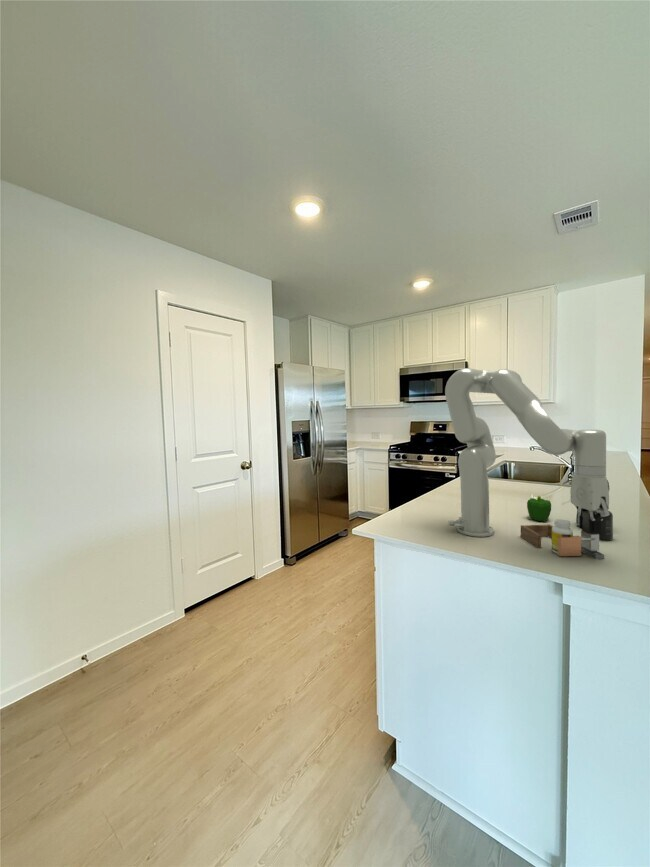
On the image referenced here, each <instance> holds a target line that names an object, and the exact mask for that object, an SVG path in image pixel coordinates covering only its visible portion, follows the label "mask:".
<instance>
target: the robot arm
mask: <svg viewBox="0 0 650 867" xmlns="http://www.w3.org/2000/svg"><path fill="white" fill-rule="evenodd" d="M470 393H481V394H494V395H496V396H497V397H498V399H499V400H500V401H501V402H502V403H503V404H504V405H505V406H506V407H507V408H508V409H509V410H510V411H511V413H513V414H514V415H515V417H516V419H517V420H518V422H519V423H520V425H522V427H523V429H524V430H525V431H526V432H527V434H529V436H530V437H531V438H532V439H533V440H534V441H535V442H536V443H537V445H539V447H541V449H543V451H545V453H548V454H550V455H554V456H559V455H563V454H566V453H569V452H574V473H573V475H572V479H571V484H570V485H571V486H570V503H571V504H572V505H573V506H575V508H576V511H577V510H578V515H579V526H578V527H579V529H580V530H582V512H585V511H590V519H591V520H589V533H591V534H593V533H601V521H602V520H603V518H604V517H605V516H609V515H610V514H609V511H610V510H609V509H610V488H609V489H608V483H607V480H608V479H607V434H606V432H605V431H604V430H600V429H579V430H577V429H568V428H567V429H566V428H560V427H559V426H558V425H557V424H556V423H555V422H554V421H553V420H552V418H550V416H549V415H548V413H547V412H546V410H545V409H544V407H543V404H542V402H541V400H540V399H539V397H538V396H537V395H536V394H535V393H534V392H533V391H532V390H531V389H530V388H529V387H528V386H527V385H526V384H525V383H524V382H523V380H522V377H521V375H520V374H519V373H518V372H517V371H514V370H511V369H508V368H507V369H506V368H505V369H504V368H503V369H498V370H483V369H475V368H470V367H469V368H468V367H466V368H465V367H464V368H461V369H459V370H456V371H455V372H454V373H453V374H452V375H451V376H450V377H449V378H448V380H447V381H446V385H445V388H444V394H445V401H446V404H447V407H448V411H449V416H450V419H451V420H450V421H451V425H452V428H453V432H454V435H455V438H456V439H457V440H458V441H459V443H462V444H466V446H467V447H466V448H464V449H463V450H462V451H461V452H460V454H459V456H458V462H457V465H458V471H459V478H460V506H461V507H460V510H461V511H460V512H461V513H460V515H461V516H459V517H458V519H456V520H448V522H447V524H448V526H449V527H454V528H456V529H457V532H458V533H460V534H462V535H466V536H469V537H470V536H471V537H475V538H476V537H478V538H485V537H491V536H493V535H494V534H495V529H494V527H492V526H490V489H489V488H490V484H489V482H490V481H489V475H488V468H491V467H492V466H493V465H494V464H495V462H496V456H497V454H496V450H495V446H494V443H493V442H494V441H493V439H492V434H491V431H490V428H489V426H488V423H487V422H486V421H485V420H484V419H483V418H481V417H478V416H476V412H475V408H474V404H473V402H472V399H471V398H470ZM595 512H597V513H596V514H595Z"/></svg>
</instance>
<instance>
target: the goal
mask: <svg viewBox="0 0 650 867" xmlns="http://www.w3.org/2000/svg"><path fill="white" fill-rule="evenodd" d="M554 526H555V525H554ZM554 526H553V525H551V524H525V525H522V524H521V525H520V537H521V538H522V539H524V540H525V539H526V541H527V542H528V541H529V543H530V544H531V545H533V546H535V547H537V548H538V547H539V548H542V538H546V537H548V538H550V539H552V527H554Z"/></svg>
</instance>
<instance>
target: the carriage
mask: <svg viewBox="0 0 650 867" xmlns="http://www.w3.org/2000/svg"><path fill="white" fill-rule="evenodd" d="M595 514H596V513H595ZM589 520H591V519H590V511H585V512H582V529H580V534H581V535H580V536H579V535H573V536H558V554H557V555H558V556H559V557H575V556H576V557H577V556H578V557H580V556H582V551H581V546H582V547H584V548H586V549H588V550H590V551H598V552H599V551H600V540H599V534H598V533H593V534H591V533H589Z"/></svg>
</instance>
